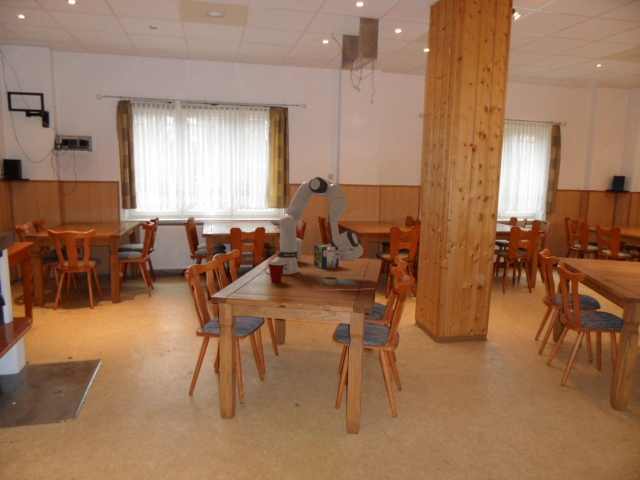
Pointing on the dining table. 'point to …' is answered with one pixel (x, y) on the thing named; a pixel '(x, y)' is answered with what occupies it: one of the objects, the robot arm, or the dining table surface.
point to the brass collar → (330, 280)
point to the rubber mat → (339, 282)
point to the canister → (299, 245)
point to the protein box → (319, 258)
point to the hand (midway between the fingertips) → (330, 256)
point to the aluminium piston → (330, 257)
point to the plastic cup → (276, 271)
